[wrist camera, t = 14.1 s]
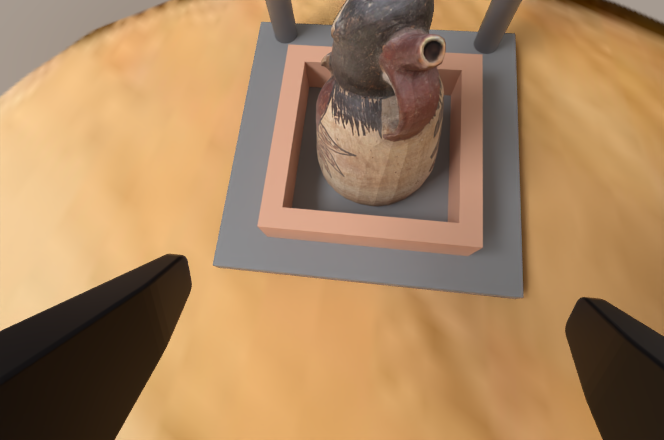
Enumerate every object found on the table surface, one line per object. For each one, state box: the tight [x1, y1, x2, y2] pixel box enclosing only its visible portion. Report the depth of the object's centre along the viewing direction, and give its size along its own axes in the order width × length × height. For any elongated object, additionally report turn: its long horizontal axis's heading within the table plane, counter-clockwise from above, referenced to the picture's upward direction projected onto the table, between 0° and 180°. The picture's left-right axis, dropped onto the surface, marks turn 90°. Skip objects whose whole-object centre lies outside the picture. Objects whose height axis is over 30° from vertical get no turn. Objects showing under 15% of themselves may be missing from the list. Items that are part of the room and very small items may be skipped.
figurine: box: [316, 0, 446, 206], centre depth 17 cm, size 7×7×12 cm
